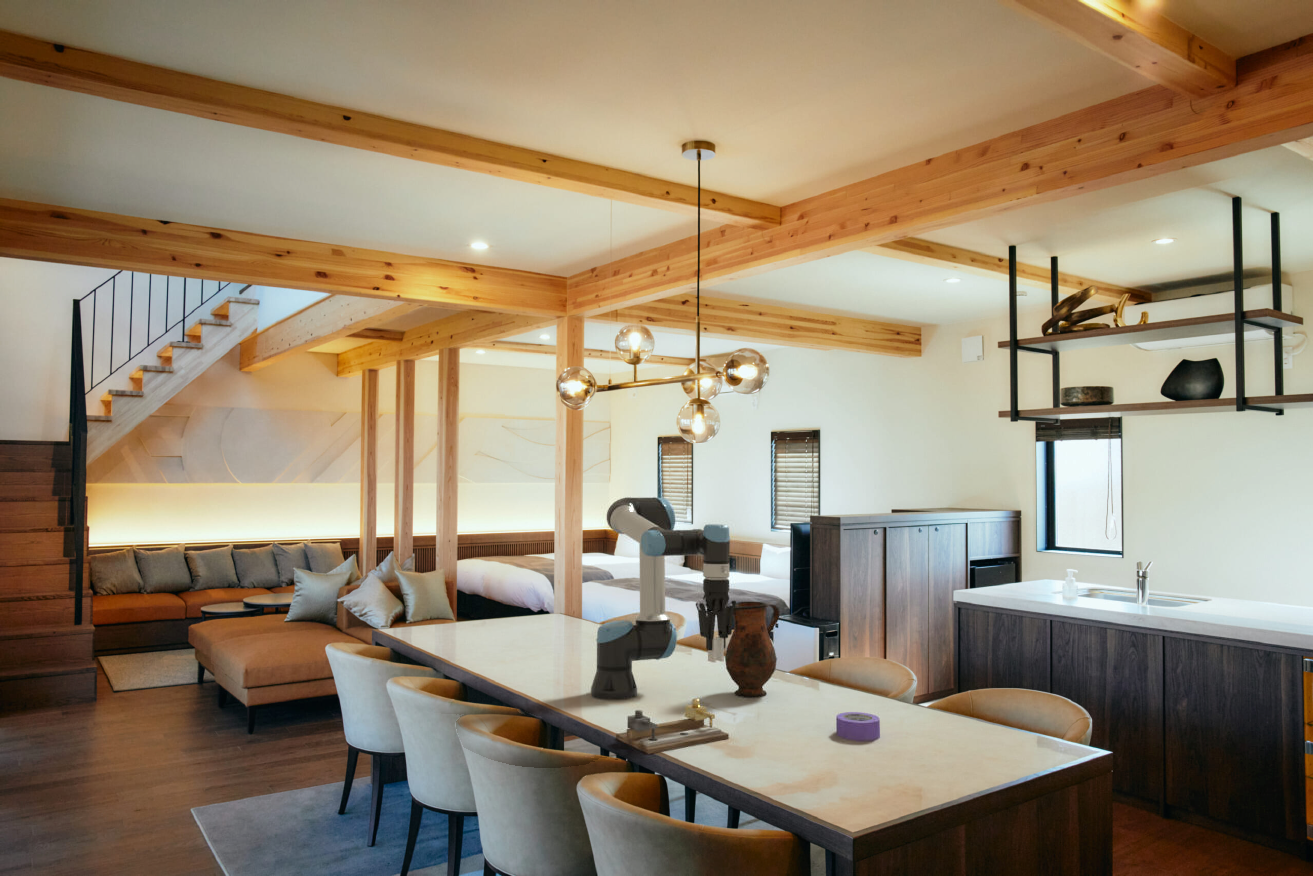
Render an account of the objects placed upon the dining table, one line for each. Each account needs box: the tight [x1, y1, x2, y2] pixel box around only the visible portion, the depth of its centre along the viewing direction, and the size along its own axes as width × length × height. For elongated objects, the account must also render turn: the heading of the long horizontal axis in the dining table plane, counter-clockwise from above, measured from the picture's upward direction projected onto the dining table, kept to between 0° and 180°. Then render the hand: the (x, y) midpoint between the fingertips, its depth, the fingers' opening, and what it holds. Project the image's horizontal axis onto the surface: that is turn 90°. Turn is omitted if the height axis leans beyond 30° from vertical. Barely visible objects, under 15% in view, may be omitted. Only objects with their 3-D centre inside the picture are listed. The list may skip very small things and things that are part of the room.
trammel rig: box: [615, 709, 729, 755], centre depth 230 cm, size 16×26×8 cm, turn 124°
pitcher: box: [724, 601, 780, 699], centre depth 283 cm, size 17×21×30 cm
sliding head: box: [684, 698, 716, 728], centre depth 236 cm, size 10×4×6 cm, turn 34°
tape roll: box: [835, 711, 881, 742], centre depth 236 cm, size 12×12×5 cm
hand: (715, 661), depth 243 cm, fingers open, 2 cm apart
